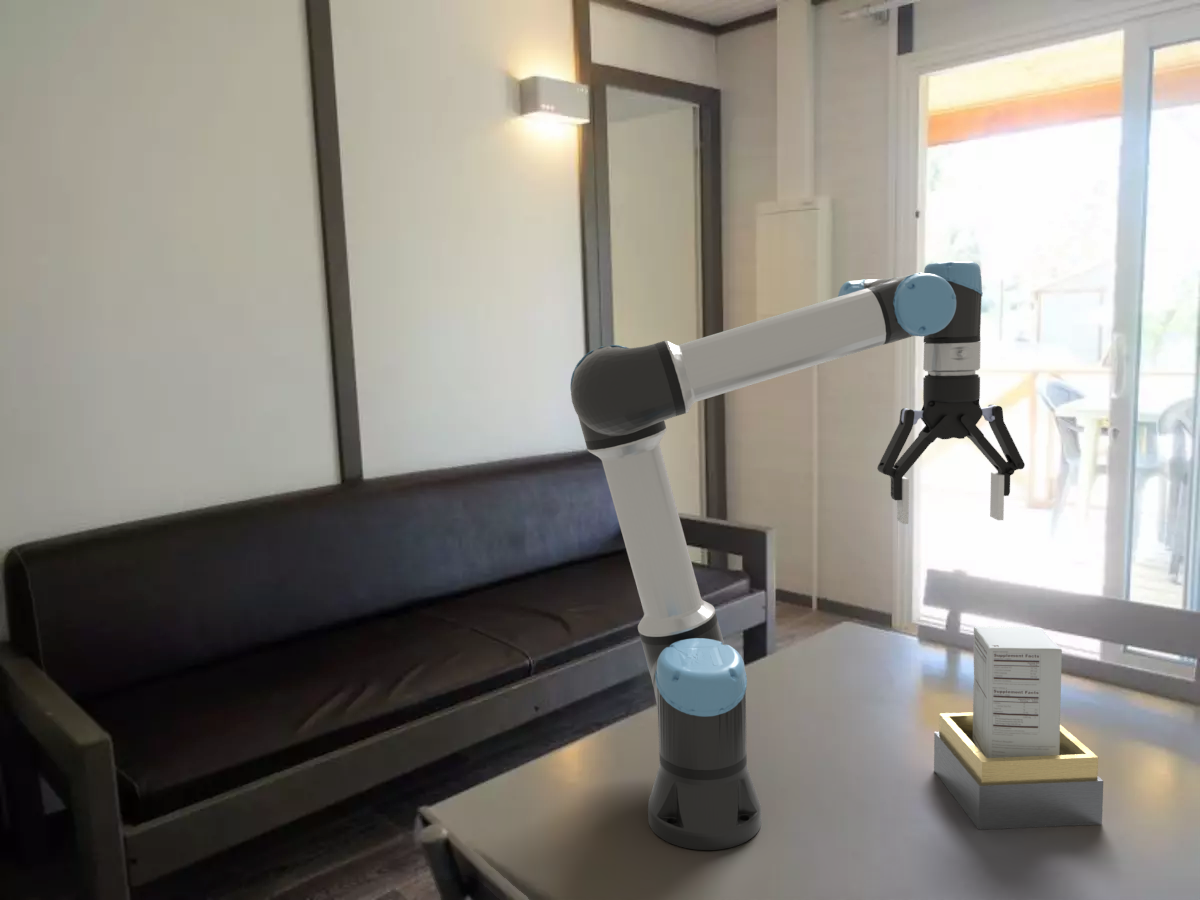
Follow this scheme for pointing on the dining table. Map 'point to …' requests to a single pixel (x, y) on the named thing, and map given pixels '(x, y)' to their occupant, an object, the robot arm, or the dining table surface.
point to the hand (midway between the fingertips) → (949, 520)
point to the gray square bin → (1018, 780)
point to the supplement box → (1016, 692)
